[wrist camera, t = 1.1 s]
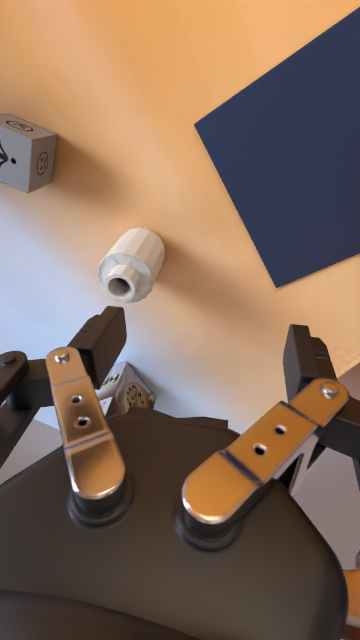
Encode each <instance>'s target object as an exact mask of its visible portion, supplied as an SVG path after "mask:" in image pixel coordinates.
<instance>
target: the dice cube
mask: <svg viewBox="0 0 360 640" xmlns="http://www.w3.org/2000/svg"><path fill="white" fill-rule="evenodd" d="M56 139H57V134H55V133H53V132H50V131H48V130H46V129H43V128H41V127H39V126H36V125H34V124H32V123H29V122H27V121H25V120H22V119H20V118H18V117H15V116H13V115H11V114H1V115H0V182H1V183H3V184H6V185H8V186H11V187H13V188H16V189H18V190H21V191H23V192H26V193H30V192H32V191H34V190H37V189H39V188H41V187H43V186H45V185H47V184H49V183H51V182H52V173H53V165H54V156H55V148H56Z"/></svg>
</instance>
